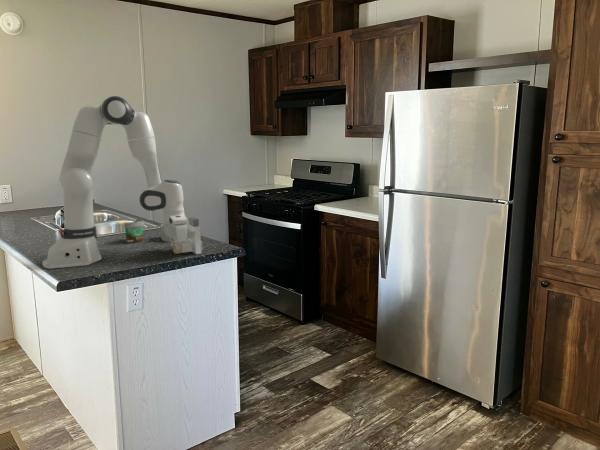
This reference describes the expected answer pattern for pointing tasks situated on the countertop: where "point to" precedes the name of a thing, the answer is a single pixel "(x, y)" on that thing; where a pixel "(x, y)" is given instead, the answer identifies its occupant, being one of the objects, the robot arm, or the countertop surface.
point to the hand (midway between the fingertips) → (175, 248)
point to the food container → (134, 231)
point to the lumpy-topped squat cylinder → (163, 235)
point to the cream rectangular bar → (185, 247)
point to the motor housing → (194, 234)
